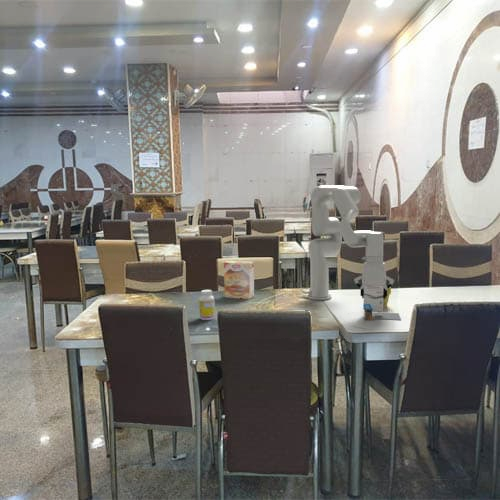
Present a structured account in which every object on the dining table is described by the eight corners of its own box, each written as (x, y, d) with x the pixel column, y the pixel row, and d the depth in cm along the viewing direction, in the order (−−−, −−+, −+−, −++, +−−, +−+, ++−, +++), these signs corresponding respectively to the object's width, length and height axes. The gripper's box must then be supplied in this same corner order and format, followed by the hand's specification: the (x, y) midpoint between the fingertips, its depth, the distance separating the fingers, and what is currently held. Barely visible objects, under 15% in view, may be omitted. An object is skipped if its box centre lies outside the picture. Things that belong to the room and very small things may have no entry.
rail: (365, 320, 198) (365, 314, 197) (364, 311, 212) (364, 306, 212) (372, 320, 197) (372, 314, 197) (371, 311, 211) (371, 306, 211)
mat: (374, 319, 199) (374, 318, 199) (373, 313, 209) (373, 312, 209) (401, 320, 196) (401, 319, 196) (398, 313, 207) (398, 313, 207)
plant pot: (366, 303, 227) (366, 284, 226) (387, 303, 227) (387, 284, 225) (371, 309, 217) (371, 288, 215) (393, 308, 216) (393, 288, 215)
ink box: (362, 310, 203) (363, 277, 201) (363, 307, 208) (364, 275, 206) (382, 311, 200) (383, 278, 198) (383, 308, 205) (384, 276, 203)
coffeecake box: (224, 297, 247) (223, 262, 245) (229, 294, 254) (228, 260, 252) (249, 299, 242) (249, 263, 240) (254, 296, 248) (254, 261, 246)
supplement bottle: (200, 316, 208) (199, 289, 207) (214, 316, 209) (213, 288, 207) (199, 320, 202) (198, 292, 200) (214, 320, 202) (213, 291, 201)
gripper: (354, 260, 199) (353, 299, 201) (395, 261, 196) (394, 300, 198) (354, 258, 207) (353, 295, 209) (393, 258, 203) (393, 296, 205)
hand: (373, 297), depth 203 cm, fingers closed on ink box, 9 cm apart
